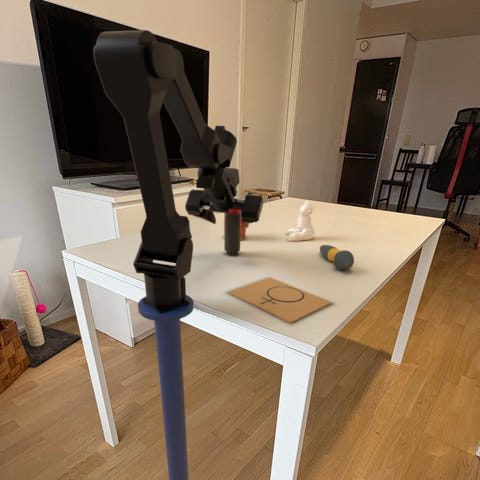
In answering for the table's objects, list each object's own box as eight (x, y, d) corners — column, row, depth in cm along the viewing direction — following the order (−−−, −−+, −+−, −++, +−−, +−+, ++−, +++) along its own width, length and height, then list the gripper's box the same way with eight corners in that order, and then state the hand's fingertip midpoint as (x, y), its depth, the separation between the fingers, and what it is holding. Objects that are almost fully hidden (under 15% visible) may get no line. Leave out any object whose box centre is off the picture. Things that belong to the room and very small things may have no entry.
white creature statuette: (287, 233, 119) (291, 197, 113) (312, 235, 118) (317, 199, 112) (288, 241, 110) (292, 202, 105) (315, 242, 110) (320, 204, 104)
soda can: (219, 237, 111) (219, 198, 106) (235, 233, 116) (236, 196, 110) (233, 242, 107) (235, 202, 101) (250, 238, 111) (252, 200, 105)
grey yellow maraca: (308, 251, 101) (311, 235, 98) (324, 251, 102) (327, 234, 100) (342, 276, 84) (346, 257, 82) (360, 275, 85) (364, 256, 83)
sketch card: (290, 323, 62) (291, 321, 62) (228, 293, 73) (228, 291, 73) (331, 303, 70) (331, 301, 70) (269, 279, 81) (270, 277, 81)
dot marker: (231, 257, 94) (232, 208, 87) (221, 253, 96) (221, 205, 90) (243, 254, 96) (245, 206, 90) (232, 250, 99) (233, 204, 93)
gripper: (264, 158, 76) (272, 201, 91) (188, 153, 81) (207, 195, 96) (252, 200, 73) (262, 238, 88) (174, 193, 78) (196, 230, 93)
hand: (231, 224), depth 91 cm, fingers open, 9 cm apart
